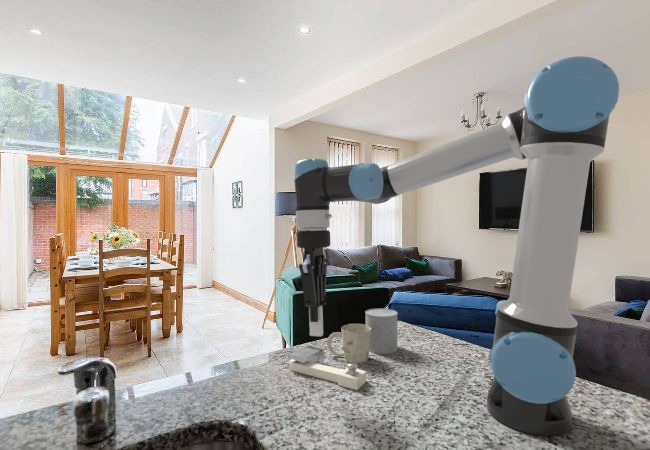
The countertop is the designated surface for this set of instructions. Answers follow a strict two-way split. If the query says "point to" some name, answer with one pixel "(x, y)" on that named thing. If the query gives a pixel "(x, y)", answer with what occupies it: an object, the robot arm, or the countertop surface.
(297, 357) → the keeper
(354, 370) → the pintle
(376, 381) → the countertop surface
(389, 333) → the gray cylinder
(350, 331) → the mug
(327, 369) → the link
